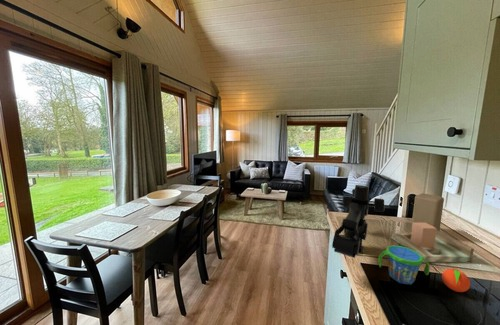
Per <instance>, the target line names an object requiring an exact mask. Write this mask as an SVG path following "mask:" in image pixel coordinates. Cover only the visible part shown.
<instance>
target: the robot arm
mask: <svg viewBox="0 0 500 325" xmlns="http://www.w3.org/2000/svg"><path fill="white" fill-rule="evenodd" d="M354 187H355V188H354V189H351V193H352V194H351V196H350V195H344V196H343V197H342V207H343V208H344V209H346V210H347V213H348V214H347V215H346V217H345V218H343V219H342V222H341V226H340V227H338V228H337V229H336V230H335V231H334V235H333V239H332V244H331V248H332V249H333V252H335V253H337V254H340V255H344V256H347V257H351V258H356V256H358V255H359V254H362V253H363V249H364V246H363V241H366V238H367V237H368V236H367V234H368V226H369V224H368V223H367V220H366V219H365V218H366V217H367V216H368V213H369V206H370V207H374V212H380V213H384V212H385V199H384V198H374V200H370V198H369V193H370V192H369V191H370V190H369V189H370V187H369V186H368V185H362V184H355V186H354ZM342 232H343V233H344V234H341V233H342ZM358 252H359V253H358Z"/></svg>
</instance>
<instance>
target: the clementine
mask: <svg viewBox="0 0 500 325" xmlns="http://www.w3.org/2000/svg"><path fill="white" fill-rule="evenodd" d="M441 278H442V281H443V283H444V285H445V286H446V287H447V288H449V289H450V290H452V291H453V292H457V293H464V292H467V291H468V290H470V287H471V280H470V278H469V277H468V276H467V275H466V274H465V273H464V272H462V271H461V270H460V269H456V268H447V269H445V270H444V271H443V272H442V274H441Z"/></svg>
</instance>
